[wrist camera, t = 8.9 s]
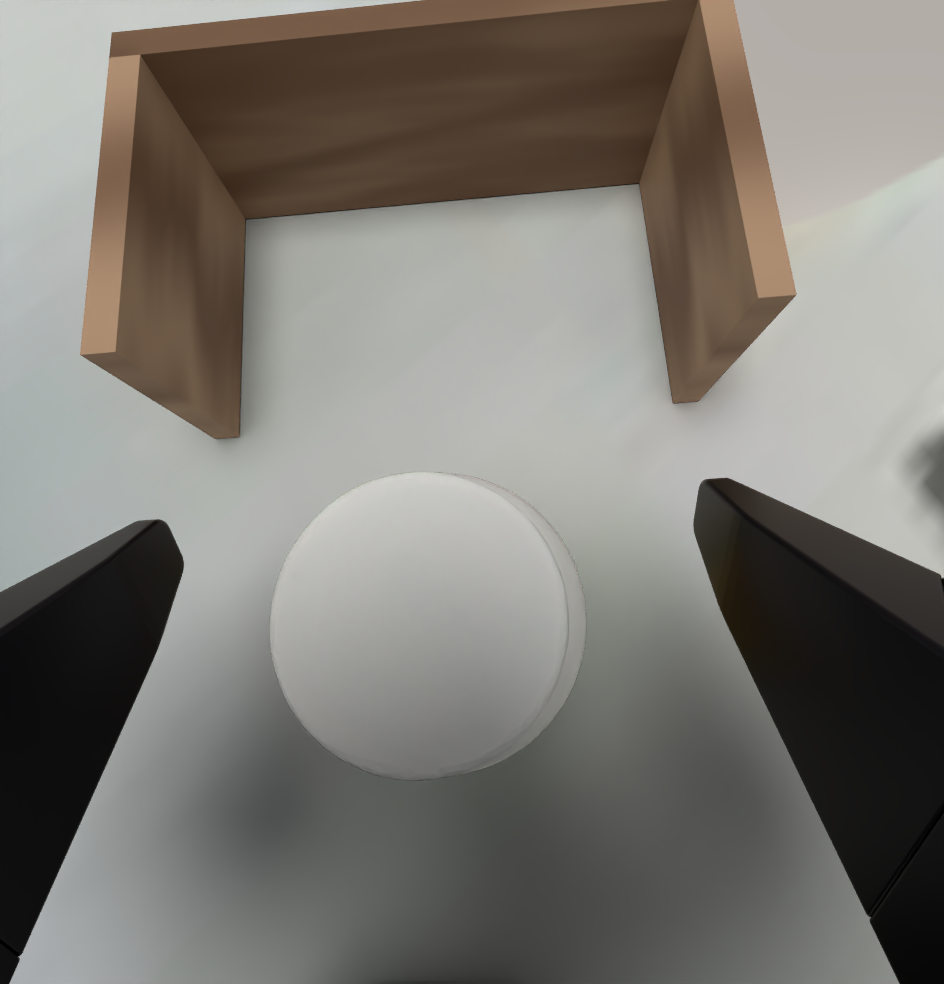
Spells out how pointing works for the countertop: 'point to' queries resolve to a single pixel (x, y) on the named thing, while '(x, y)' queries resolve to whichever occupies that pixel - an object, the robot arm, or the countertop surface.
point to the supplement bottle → (427, 625)
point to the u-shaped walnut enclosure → (421, 162)
